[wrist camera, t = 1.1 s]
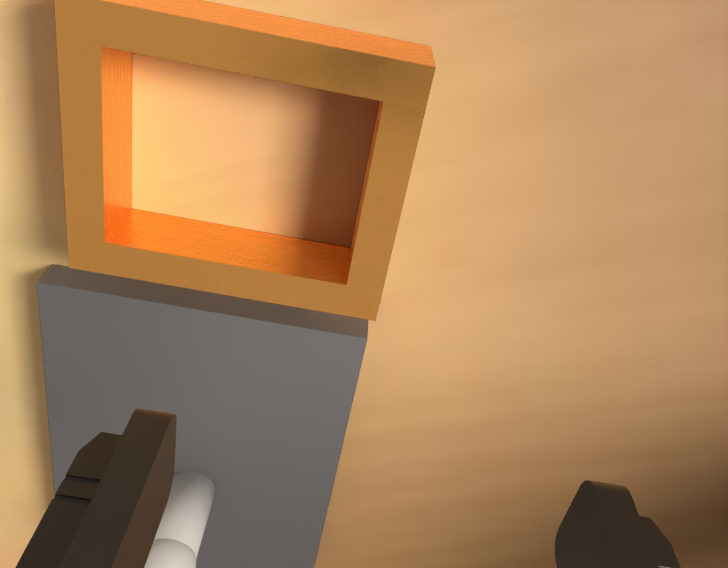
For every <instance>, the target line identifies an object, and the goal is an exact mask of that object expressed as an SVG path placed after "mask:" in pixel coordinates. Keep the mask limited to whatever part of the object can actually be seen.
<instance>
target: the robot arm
mask: <svg viewBox="0 0 728 568" xmlns="http://www.w3.org/2000/svg"><path fill="white" fill-rule="evenodd" d="M176 426H177V417H176V414H170V413H163V412H157V411H151V410H144V409H138V408H137V409H135V410H134V412H133V414H132V416H131V418H130V420H129V422H128V424H127V426H126V428H125V430H124V432H123V434H122V435H118V434H112V433H105V432H100V433H99V434H98V435H97V436H96V437H94V438H93V439H92V440H91V441H90V442H88V443H87V444H86V445H85V446H84V447H83V448H81V449H80V450H79V451H78V453H77V455H76V457H75V458H74V460H73V462H72V464H71V466H70V468H69V470H68V471H67V473H66V477H65V479H63V481H62V483H61V484H60V486H59V488H58V490H57V492H56V494H55V498H54V499H52V501H51V503H50V505H49V507H48V508H47V510H46V512H45V514H44V516H43V518H42V520H41V521H40V523H39V525H38V527H37V529H36V531H35V533H34V534H33V536H32V538H31V540H30V542H29V544H28V545H27V547H26V549H25V551H24V553H23V555H22V557H21V558H20V560H19V562H18V564H17V566H16V568H144V567H145V564H146V561H147V558H148V556H149V553H150V550H151V547H152V544H153V542H154V539H155V536H156V533H157V530H158V527H159V525H160V522H161V519H162V516H163V513H164V510H165V508H166V505H167V502H168V499H169V495H170V491H171V487H172V482H173V476H174V467H175V446H176ZM555 558H556V563H557V568H680V565H679V563H678V561H677V558H676V556H675V554H674V551H673V549H672V546H671V544H670V542H669V541H668V539H667V538H666V537H665V536H664V534H663V533H662V532H661V531H660V530H659V528H658V527H657V526H656V525H655V523H654V522H653V521H652V520H651V519H650V518H648V517H642V516H639V514H638V512H637V509H636V507H635V504H634V502H633V499H632V496H631V494H630V492H629V490H628V489H627V488H626V487H624V486H620V485H614V484H607V483H601V482H594V481H588V480H587V481H584V482H583V483H582V484H581V486H580V488H579V490H578V492H577V493H576V495H575V497H574V499H573V501H572V503H571V505H570V507H569V509H568V511H567V513H566V515H565V517H564V519H563V521H562V523H561V525H560V527H559V529H558V532H557V536H556V541H555Z"/></svg>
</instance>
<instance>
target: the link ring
mask: <svg viewBox="0 0 728 568" xmlns="http://www.w3.org/2000/svg"><path fill="white" fill-rule="evenodd" d="M54 4H55V23H56V41H57V60H58V79H59V97H60V116H61V135H62V153H63V172H64V191H65V209H66V228H67V246H68V265H69V268H73V269H79V270H85V271H90V272H96V273H102V274H108V275H113V276H119V277H125V278H131V279H137V280H142V281H148V282H154V283H160V284H165V285H171V286H177V287H183V288H189V289H194V290H200V291H206V292H212V293H217V294H223V295H229V296H235V297H241V298H246V299H252V300H258V301H264V302H270V303H275V304H281V305H287V306H293V307H298V308H304V309H310V310H316V311H322V312H327V313H333V314H339V315H345V316H350V317H356V318H362V319H368V320H374V321H376V316H377V312H378V308H379V304H380V300H381V295H382V291H383V287H384V283H385V279H386V274H387V270H388V266H389V262H390V257H391V253H392V249H393V245H394V241H395V236H396V232H397V228H398V224H399V219H400V215H401V211H402V207H403V203H404V198H405V194H406V190H407V186H408V181H409V177H410V173H411V169H412V165H413V160H414V156H415V152H416V148H417V143H418V139H419V135H420V131H421V127H422V122H423V118H424V114H425V110H426V106H427V101H428V97H429V93H430V89H431V84H432V80H433V76H434V72H435V68H436V67H435V62H434V58H433V54H432V50H431V47H430V46H425V45H420V44H415V43H410V42H405V41H400V40H395V39H390V38H385V37H380V36H375V35H370V34H365V33H360V32H355V31H350V30H346V29H341V28H336V27H331V26H326V25H321V24H316V23H311V22H306V21H301V20H296V19H291V18H286V17H281V16H276V15H271V14H266V13H261V12H256V11H251V10H246V9H242V8H237V7H232V6H227V5H222V4H217V3H212V2H207V1H202V0H54ZM132 53H137V54H142V55H148V56H153V57H158V58H163V59H168V60H173V61H178V62H183V63H189V64H194V65H199V66H204V67H209V68H214V69H219V70H224V71H229V72H235V73H240V74H245V75H250V76H255V77H260V78H265V79H270V80H276V81H281V82H286V83H291V84H296V85H301V86H306V87H311V88H317V89H322V90H327V91H332V92H337V93H342V94H347V95H352V96H357V97H363V98H368V99H373V100H378V101H380V103H379V108H378V113H377V118H376V123H375V128H374V133H373V138H372V143H371V148H370V153H369V158H368V163H367V168H366V174H365V179H364V184H363V189H362V194H361V199H360V204H359V209H358V214H357V219H356V224H355V229H354V234H353V239H352V244H351V248H347V247H342V246H336V245H331V244H325V243H320V242H314V241H308V240H303V239H297V238H292V237H286V236H281V235H275V234H270V233H264V232H258V231H253V230H247V229H242V228H236V227H231V226H225V225H220V224H214V223H208V222H203V221H197V220H192V219H186V218H181V217H175V216H170V215H164V214H158V213H153V212H147V211H142V210H136V209H131V150H132Z"/></svg>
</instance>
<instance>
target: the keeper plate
mask: <svg viewBox="0 0 728 568" xmlns="http://www.w3.org/2000/svg"><path fill="white" fill-rule="evenodd" d="M37 288H38V300H39V312H40V324H41V336H42V348H43V360H44V372H45V384H46V396H47V408H48V420H49V432H50V444H51V456H52V468H53V480H54V492H55V494H56V492H57V490H58V488H59V486H60V484H61V483H62V481H63V479H65V477H66V473H67V471H68V470H69V468H70V466H71V464H72V462H73V460H74V458H75V457H76V455H77V453H78V451H79V450H80V449H81V448H83V447H84V446H85V445H86V444H87V443H88V442H90V441H91V440H92V439H93V438H94V437H96V436H97V435H98V434H99V433H100V432H105V433H112V434H118V435H122V434H123V432H124V430H125V428H126V426H127V424H128V422H129V420H130V418H131V416H132V414H133V412H134V410H135V409H137V408H138V409H144V410H151V411H157V412H163V413H170V414H176V417H177V426H176V446H175V467H174V476H173V482H172V487H171V491H170V495H169V499H168V502H167V505H166V508H165V510H164V513H163V516H162V519H161V522H160V525H159V527H158V530H157V533H156V536H155V539H154V542H153V544H152V547H151V550H150V553H149V556H148V558H147V561H146V564H145V567H144V568H314V565H315V561H316V556H317V552H318V548H319V544H320V539H321V535H322V531H323V526H324V522H325V518H326V514H327V509H328V505H329V501H330V496H331V492H332V488H333V483H334V479H335V475H336V471H337V466H338V462H339V458H340V453H341V449H342V445H343V441H344V436H345V432H346V428H347V423H348V419H349V415H350V411H351V406H352V402H353V398H354V393H355V389H356V385H357V381H358V376H359V372H360V368H361V363H362V359H363V355H364V350H365V346H366V342H367V334H368V319H362V318H356V317H350V316H345V315H339V314H333V313H327V312H322V311H316V310H310V309H304V308H298V307H293V306H287V305H281V304H275V303H270V302H264V301H258V300H252V299H246V298H241V297H235V296H229V295H223V294H217V293H212V292H206V291H200V290H194V289H189V288H183V287H177V286H171V285H165V284H160V283H154V282H148V281H142V280H137V279H131V278H125V277H119V276H113V275H108V274H102V273H96V272H90V271H85V270H79V269H73V268H69V267H65V266H59V265H53V264H52V266H51V267H50V268H49V269H48V270H47V271H46V272H45V274H44V275H43V276H42V277H41V278H40V279H39V280H38V282H37Z"/></svg>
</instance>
